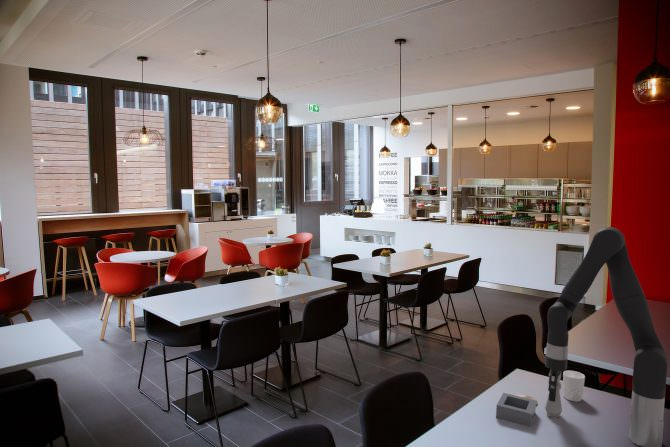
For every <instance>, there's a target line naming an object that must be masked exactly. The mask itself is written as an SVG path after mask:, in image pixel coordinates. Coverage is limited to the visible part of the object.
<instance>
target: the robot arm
mask: <svg viewBox="0 0 670 447" xmlns="http://www.w3.org/2000/svg"><path fill="white" fill-rule="evenodd" d="M604 265H606V267H607V270H608V271H607V272H608V276H609V284H610V291H611V295H612V298H613V301H614V304H615V306H616V309H617V311H618V313H619V316H620V317H621V319H622V320H623V322H624V324H625V326H626V327H627V328H628V331H629V333H630V335H631V338H632V341H633V346H634V352H635V356H634V358H633V368H632V369H633V370H632V391H631V403H630V404H631V405H630V417H629V429H628V439H629V441H631V442H632V443H633V444H635V445H637V446H639V447H662V444H663V437H664V436H663V433H664V424H665V423H664V412H665V401H666V400H665V399H666V389H667V386H666V385H667V376H668V375H667V374H668V364H669V360H668V355H667V353H666V351H665V349H664V347H663V346H662V343H661V341H660V339H659V336H658V335H657V333H656V329H655V327H654V324H653V319H652V315H651V311H650V307H649V304H648V301H647V298H646V296H645V293H644V289H643V288H642V285H641V283H640V281H639V278H638V276H637V274H636V272H635V270H634V268H633V265H632V263H631V260H630V257H629V253H628V248H627V244H626V238H625V234H624V233H622V231H621V230H619V229H618V228H615V227H612V226H606V227H603V228H601V229H599V230H598V231H596V232H595V233H594V235H593V237H592V240H591V243H590V246H589V248H588V250H587V252H586V254H585V256H584V258H582V261H581V262H580V264H579V265H578V267H577V268H576V270H575V271H574V273H573V274H572V275H571V276H570V278H569V279H568V281H567V282H566V284H565V285H564V286H563V288H562V290H561V294H559V297H558V299H556V301H555V302H554V303H553V304H552V305H551V306H550V307H549V308H548V311H547V315H546V316H547V318H546V319H547V320H546V321H547V330H548V332H547V341H546V347H545V358H544V365H545V367H546V368H548V369H550V370H549V372H548V389H547V390H548V395H549V401H553V402H555V399H556V392H557V387H558V386H559V383H561V379H562V372H564V371H567V368H568V360H569V359H568V358H569V346H568V345H569V331H568V320H569V319H570V318H571V316H572V315H573V313H574V311H575V310H576V308H577V307H578V305H579V303H581V301H582V300H583V298H584V297H585V296H586V294H587V292H588V291H589V289H590V288H591V286H592V285H593V283H594V281H595V279H596V278H597V276H598V274H599V272H600V270H601V269H602V268H603V266H604ZM551 385H552V386H554V387H555V388H554V389H553V388H551Z"/></svg>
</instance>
